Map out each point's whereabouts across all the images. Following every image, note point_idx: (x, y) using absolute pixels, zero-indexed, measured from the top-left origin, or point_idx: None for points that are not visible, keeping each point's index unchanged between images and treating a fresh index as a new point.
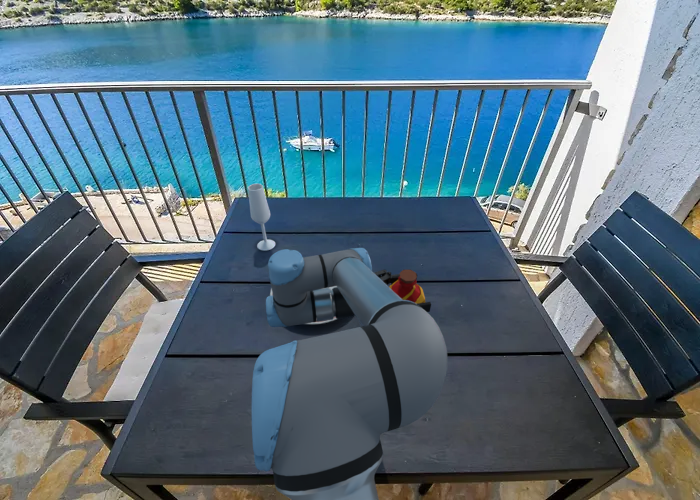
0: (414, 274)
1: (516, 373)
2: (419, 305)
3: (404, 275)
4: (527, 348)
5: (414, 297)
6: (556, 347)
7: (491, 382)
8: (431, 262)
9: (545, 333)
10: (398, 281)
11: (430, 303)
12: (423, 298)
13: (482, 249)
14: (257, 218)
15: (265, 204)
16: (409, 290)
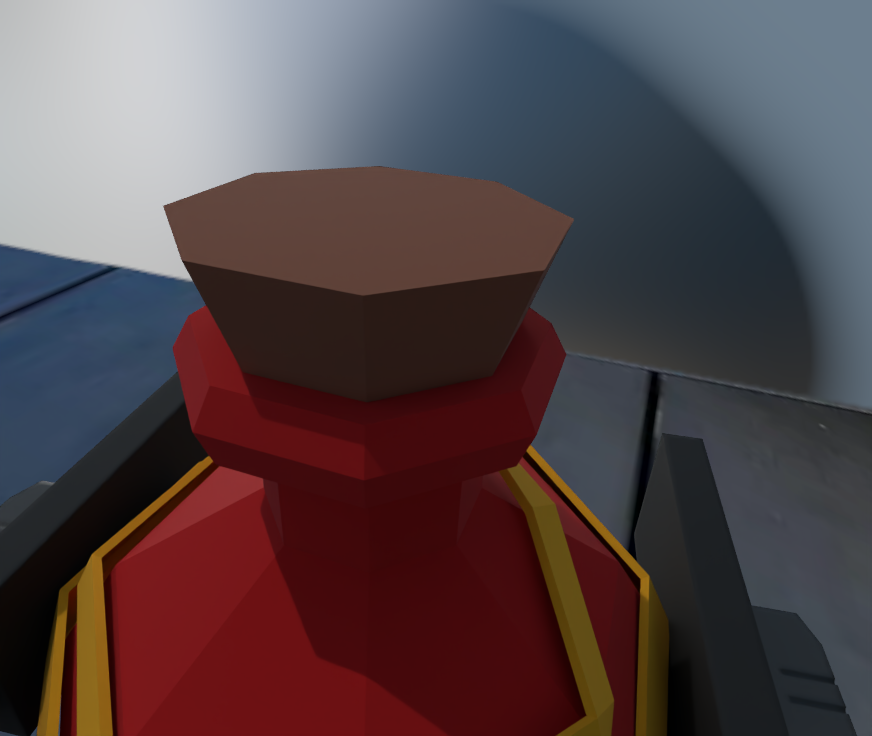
0: (413, 177)
1: (740, 504)
2: (728, 546)
3: (340, 242)
4: (626, 425)
5: (579, 526)
6: (633, 373)
7: (796, 606)
8: (24, 452)
9: (575, 366)
10: (131, 568)
11: (690, 441)
12: (549, 478)
13: (158, 310)
14: None
15: None
16: (487, 494)
